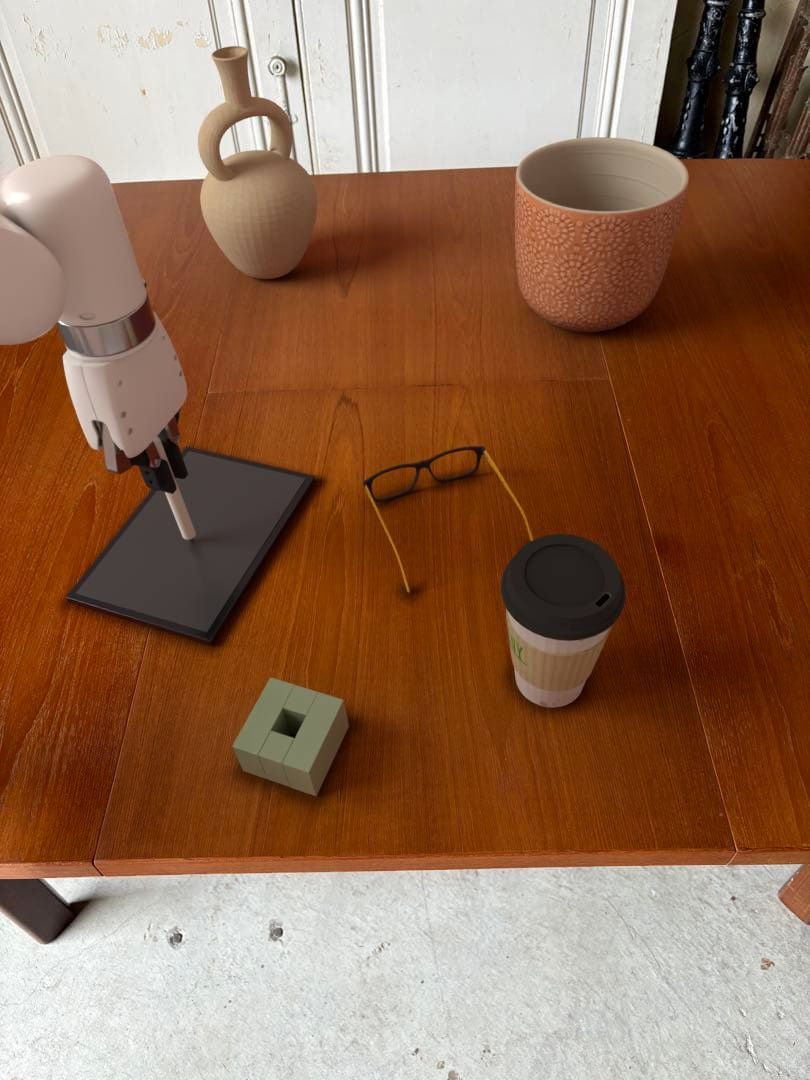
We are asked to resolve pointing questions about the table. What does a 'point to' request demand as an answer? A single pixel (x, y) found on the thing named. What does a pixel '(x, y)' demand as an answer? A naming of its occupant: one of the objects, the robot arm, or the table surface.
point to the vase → (254, 181)
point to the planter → (595, 229)
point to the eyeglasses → (426, 464)
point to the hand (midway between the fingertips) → (167, 480)
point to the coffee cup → (559, 614)
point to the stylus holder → (282, 756)
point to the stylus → (177, 502)
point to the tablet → (195, 547)
